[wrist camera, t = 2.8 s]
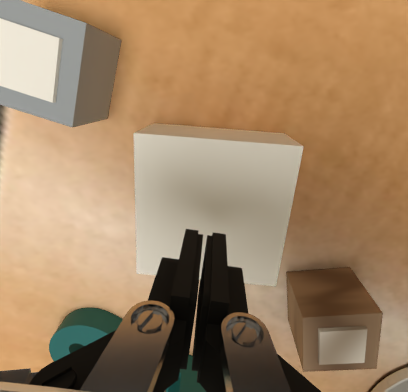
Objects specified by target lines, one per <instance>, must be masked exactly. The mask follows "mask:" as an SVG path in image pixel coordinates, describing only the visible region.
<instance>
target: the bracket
mask: <svg viewBox="0 0 408 392" xmlns="http://www.w3.org/2000/svg"><path fill="white" fill-rule="evenodd" d="M122 320H123V319H122V318H120V317H118V316H116V315H114V314H112V313H110V312H108V311H105V310H102V309H98V308H81V309H78V310H75V311H73V312H71V313H70V314H69V315H67V316H66V318H65V319H64V320H63V322H62V323H61V325H60V326H59V328H58V329H57V331H56V332H55V334H54V335H53V337H52V338H51V340H50V344H49V351H50V354H51V357H52V359H53V361H56V360H58V359H60V358H62V357H64V356H66V355H68V354H70V353H72V352H74V351H76V350H78V349H80V348H82V347H84V346H86V345H88V344H90V343H92V342H94V341H96V340H98V339H99V338H101V337H103V336H105V335H107V334H109V333H111V332H113V331H115V330H117V328H118V327H119V325H120V324H121V322H122ZM192 360H193V356H191V355H189V356H188V363H187V369H186V370H185V369H180V373H179V380H178V381H176V382H175V383H174V384H172V385H171V386H170V387H168V388H167V389H166V392H206V391H205V389H204V388H203V387H202V386H201V385H200V383H197V372H198V371H192Z"/></svg>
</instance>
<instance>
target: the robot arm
mask: <svg viewBox="0 0 408 392" xmlns="http://www.w3.org/2000/svg"><path fill="white" fill-rule="evenodd" d="M198 231H199V230H191V229H186V230H185V234H184V239H183V243H182V248H181V252H180V257H179V259H172V258H165V257H162V259H161V262H160V265H159V268H158V271H157V274H156V277H155V280H154V283H153V286H152V289H151V292H150V295H149V299H148V301H143V302H140V303H138V304H136V305H134V306H133V307H132V308H131V309H130V310H129V311H128V312H127V314H126V315H125V317H124V319H123V320H122V322H121V324H120V325H119V327H118V328H117V330H115V331H113V332H111V333H109V334H107V335H105V336H103V337H101V338H99V339H98V340H96V341H94V342H92V343H90V344H88V345H86V346H84V347H82V348H80V349H78V350H76V351H74V352H72V353H70V354H68V355H66V356H64V357H62V358H60V359H58V360H56V361H54V362H52V363H51V364H49V365H47V366H46V367H44V368H43V369H41V370H40V371H39V372H35V373H31V370H30V369H19V370H8V371H0V392H166V389H167V388H168V387H170V386H171V385H172V384H174V383H175V382H176V381H178V380H179V373H180V369H185V370H186V369H187V363H188V356H189V349H190V343H191V336H192V329H193V323H194V316H195V309H196V302H197V294H198V284H199V273H200V263H201V253H202V242H203V234H198ZM192 371H198V372H197V383H200V385H201V386H202V387H203V388H204V389H205V391H206V392H321V391H320V390H319V389H318V388H316V387H315V386H314V385H313V384H312V383H311V382H309V381H308V380H307V379H306V378H305V377H304V376H302V375H301V374H300V373H299V372H298V371H297V370H295V369H294V368H293V367H292V366H291V365H290V364H288V363H287V362H286V361H285V360H284V359H283V358H282V357H280V356H279V355H278V354H277V353H276V350H275V348H274V345H273V342H272V340H271V337H270V334H269V332H268V330H267V328H266V326H265V325H264V324H263V323H262V322H261V321H260V320H259V319H258V318H256V317H255V316H253V315H250V314H248V309H247V301H246V294H245V286H244V279H243V271H242V268H240V267H232V266H228V264H227V245H226V234H221V233H214V232H213V234H212V236H210V235H207V240H206V247H205V253H204V260H203V267H202V273H201V280H200V287H199V295H198V305H197V316H196V327H195V338H194V349H193V360H192ZM371 392H408V367H406V368H403V369H401V370H398V371H396V372H395V373H393V374H391V375H389V376H387V377H386V378H385V379H383V380H382V381H381V382H379V383H378V384H377V385H376V386H375V387H374V388H373V390H372V391H371Z"/></svg>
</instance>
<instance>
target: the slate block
mask: <svg viewBox="0 0 408 392" xmlns="http://www.w3.org/2000/svg"><path fill="white" fill-rule="evenodd" d="M120 46H121V40H120V39H118V38H116V37H114V36H112V35H110V34H108V33H105V32H103V31H101V30H99V29H97V28H95V27H93V26H91V25H89V24H87V23H85V22H82V21H79V20H76V19H73V18H70V17H67V16H64V15H61V14H58V13H55V12H52V11H50V10H47V9H44V8H41V7H38V6H35V5H32V4H29V3H26V2H23V1H20V0H0V105H3V106H6V107H10V108H13V109H16V110H19V111H22V112H25V113H28V114H32V115H35V116H38V117H41V118H44V119H47V120H50V121H54V122H57V123H60V124H63V125H66V126H69V127H76V126H80V125H84V124H88V123H92V122H96V121H100V120H104V119H108V113H109V108H110V102H111V96H112V91H113V85H114V80H115V74H116V68H117V63H118V57H119V51H120Z"/></svg>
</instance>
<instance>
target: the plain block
mask: <svg viewBox="0 0 408 392" xmlns="http://www.w3.org/2000/svg"><path fill="white" fill-rule="evenodd" d="M303 147H304V146H302V145H301V144H299V143H298V142H297V141H295V140H294V139H292V138H291V137H289V136H288V135H286V134H285V133H276V132H263V131H250V130H237V129H224V128H211V127H199V126H186V125H173V124H160V123H153V124H151V125H149V126H147V127H145V128H143V129H141V130H139V131H137V132H135V133H134V173H135V221H136V268H137V274H146V275H156V274H157V271H158V268H159V265H160V262H161V259H162V257H165V258H172V259H179V257H180V252H181V248H182V243H183V239H184V234H185V230H186V229H191V230H199V231H198V234H203V242H202V253H201V263H200V273H199V279H200V280H201V273H202V267H203V260H204V253H205V247H206V240H207V235H210V236H212V234H213V232H214V233H221V234H226V245H227V264H228V266H232V267H240V268H242V271H243V279H244V284H254V285H265V286H276V284H277V279H278V274H279V269H280V264H281V259H282V254H283V249H284V244H285V238H286V233H287V228H288V223H289V218H290V213H291V208H292V203H293V198H294V193H295V188H296V183H297V178H298V173H299V167H300V162H301V157H302V152H303Z"/></svg>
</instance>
